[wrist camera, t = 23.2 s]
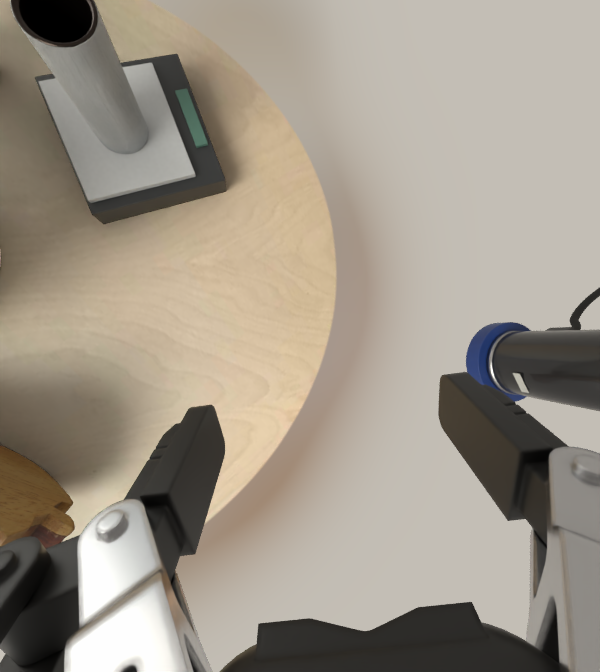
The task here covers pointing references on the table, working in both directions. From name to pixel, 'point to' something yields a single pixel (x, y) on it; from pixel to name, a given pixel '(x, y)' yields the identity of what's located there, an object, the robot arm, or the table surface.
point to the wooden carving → (31, 502)
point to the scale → (153, 158)
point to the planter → (85, 67)
